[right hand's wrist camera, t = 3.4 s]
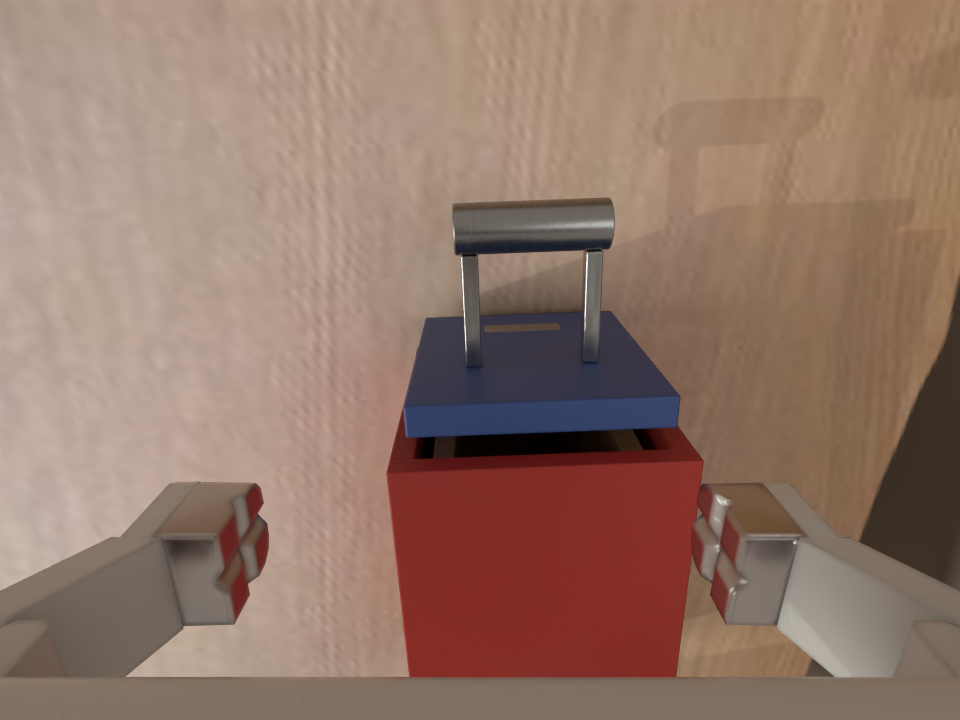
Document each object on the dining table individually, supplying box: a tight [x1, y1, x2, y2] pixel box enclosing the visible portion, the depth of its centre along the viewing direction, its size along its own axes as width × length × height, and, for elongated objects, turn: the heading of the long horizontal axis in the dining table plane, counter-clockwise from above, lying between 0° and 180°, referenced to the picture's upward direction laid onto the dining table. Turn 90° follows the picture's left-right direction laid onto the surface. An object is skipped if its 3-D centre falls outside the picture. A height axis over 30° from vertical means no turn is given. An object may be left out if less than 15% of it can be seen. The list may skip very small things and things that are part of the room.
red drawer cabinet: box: [386, 349, 704, 677], centre depth 27 cm, size 21×10×12 cm, turn 2°
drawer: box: [403, 198, 680, 458], centre depth 25 cm, size 26×9×10 cm, turn 2°
